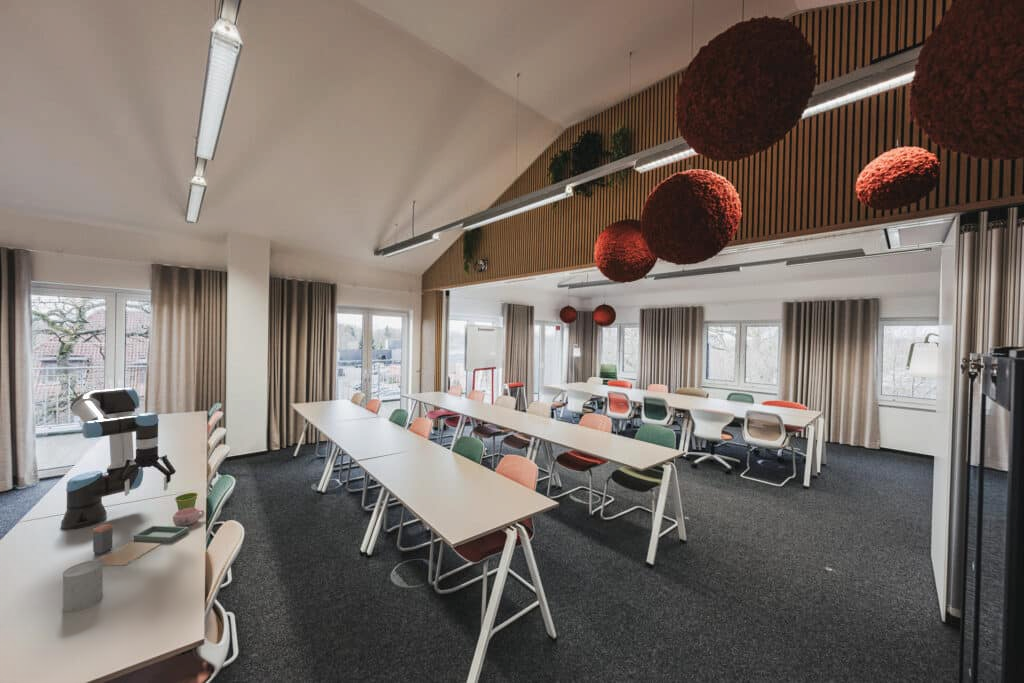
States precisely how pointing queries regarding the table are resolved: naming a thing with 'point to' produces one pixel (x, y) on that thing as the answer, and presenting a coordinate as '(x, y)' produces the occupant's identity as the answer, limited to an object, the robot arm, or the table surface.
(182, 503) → the plant pot
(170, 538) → the tray
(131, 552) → the tan board
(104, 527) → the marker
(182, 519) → the mug
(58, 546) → the table surface
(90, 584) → the grey stone cylinder
